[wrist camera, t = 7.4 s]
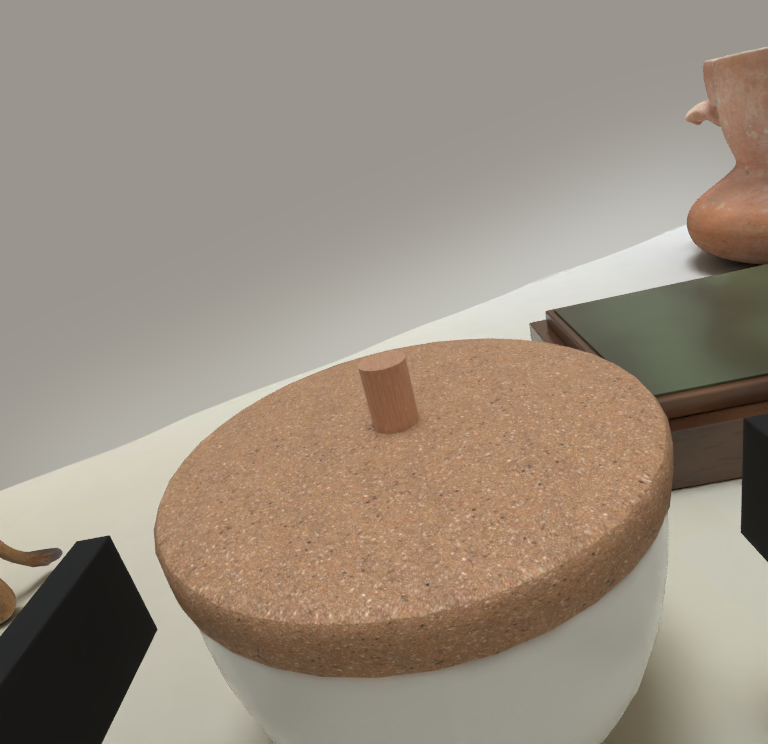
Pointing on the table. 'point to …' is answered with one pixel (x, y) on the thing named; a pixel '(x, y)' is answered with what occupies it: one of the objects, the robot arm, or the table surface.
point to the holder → (685, 359)
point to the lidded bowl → (430, 546)
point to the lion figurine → (3, 598)
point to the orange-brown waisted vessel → (753, 159)
